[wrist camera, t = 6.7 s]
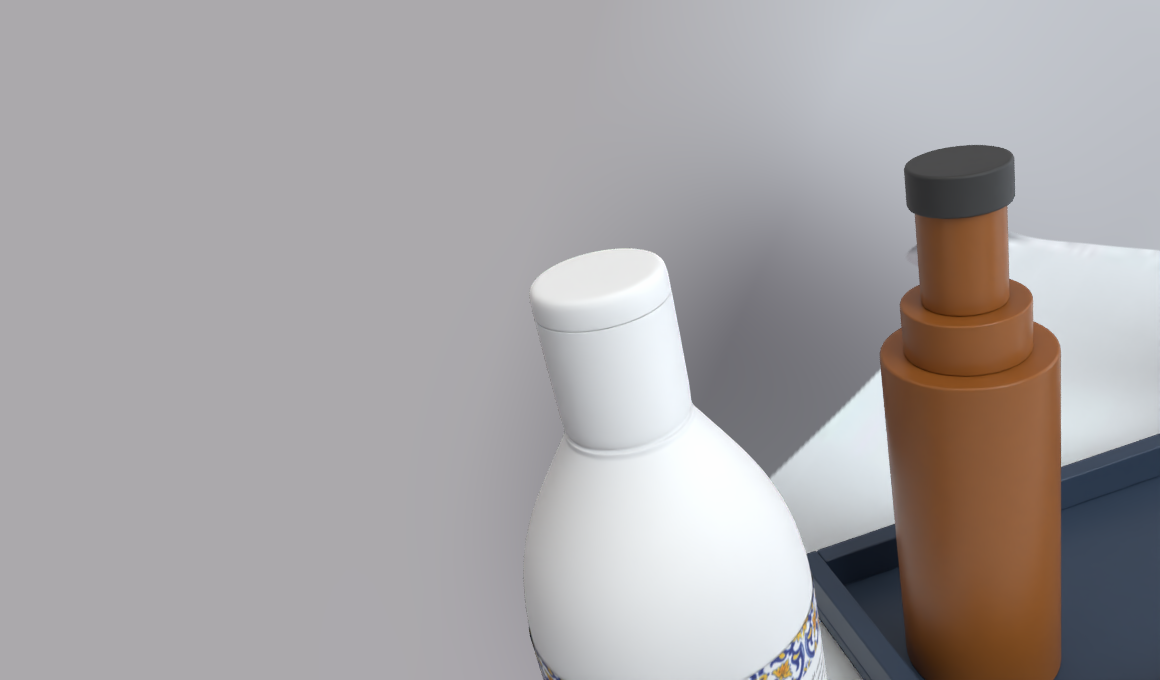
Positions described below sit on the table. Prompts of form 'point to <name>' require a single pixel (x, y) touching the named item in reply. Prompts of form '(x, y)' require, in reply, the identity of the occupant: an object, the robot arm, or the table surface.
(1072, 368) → the table surface
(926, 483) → the amber bottle
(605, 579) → the bath foam
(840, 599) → the tray
